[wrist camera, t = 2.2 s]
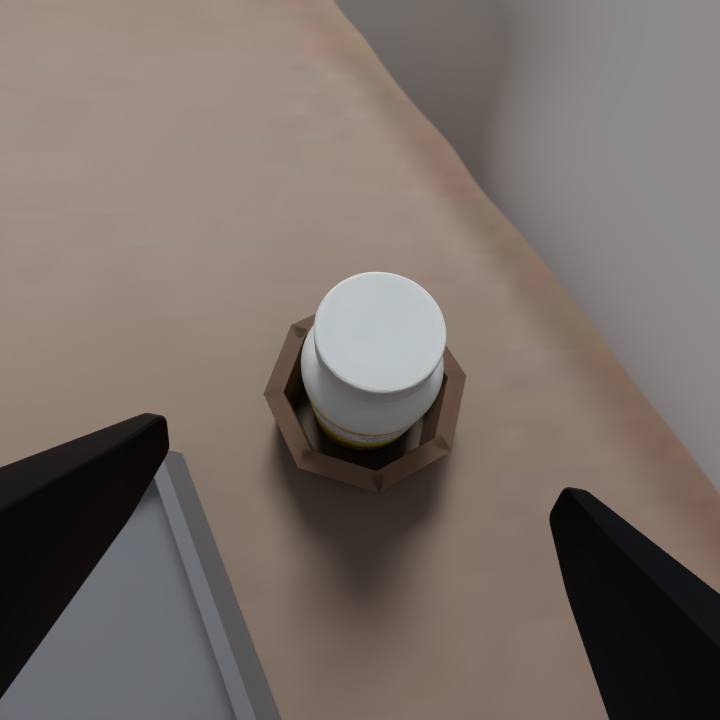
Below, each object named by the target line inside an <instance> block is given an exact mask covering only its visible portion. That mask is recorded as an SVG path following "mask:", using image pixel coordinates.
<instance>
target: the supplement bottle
mask: <svg viewBox="0 0 720 720" xmlns="http://www.w3.org/2000/svg"><path fill="white" fill-rule="evenodd" d="M445 345H446V326H445V322H444V318H443V316H442V313H441V311H440V309H439V307H438V305H437V303H436V302H435V301H434V299H433V298H432V297H431V296H430V294H429V293H427V292H426V290H424V289H423V288H422V287H421V286H419V285H418V284H416V283H415V282H413V281H411V280H409V279H407V278H405V277H402V276H399V275H396V274H392V273H385V272H367V273H362V274H358V275H355V276H352V277H350V278H347V279H345V280H343V281H342V282H340V283H339V284H338V285H336V286H335V287H334V288H332V289H331V290H330V291H329V292H328V294H327V295H326V296H325V298H324V299H323V300H322V302H321V304H320V306H319V308H318V310H317V313H316V315H315V321H314V325H313V326H312V328H311V329H310V331H309V333H308V335H307V337H306V339H305V342H304V345H303V349H302V355H301V372H302V379H303V382H304V387H305V389H306V392H307V395H308V397H309V400H310V402H311V405H312V408H313V410H314V413H315V415H316V418H317V421H318V423H319V425H320V427H321V428H322V430H323V431H324V433H325V434H326V435H327V436H328V437H329V438H330V439H331V440H332V441H333V442H335V443H336V444H338V445H340V446H342V447H344V448H347V449H350V450H354V451H361V452H367V451H374V450H378V449H381V448H384V447H386V446H388V445H389V444H391V443H392V442H394V441H395V440H397V439H398V438H399V437H400V436H401V435H402V434H403V433H404V432H405V431H406V430H408V429H409V428H410V427H411V426H412V425H413V424H414V423H415V422H417V421H418V420H419V419H420V418H421V417H422V416H423V415H424V414H425V413H426V412H427V410H428V409H429V408H430V407H431V405H432V404H433V402H434V401H435V399H436V397H437V395H438V393H439V390H440V387H441V384H442V380H443V372H444V361H443V353H444V350H445Z"/></svg>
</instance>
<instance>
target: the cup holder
mask: <svg viewBox="0 0 720 720" xmlns="http://www.w3.org/2000/svg"><path fill="white" fill-rule="evenodd" d="M315 315H316V314H314V315H312V316H310V317H308V318H306V319H303V320H301V321H299V322H297V323H295V324H292V325H291V327H290V330H289V332H288V335H287V337H286V340H285V342H284V345H283V347H282V350H281V352H280V355H279V357H278V360H277V362H276V365H275V367H274V370H273V372H272V375H271V377H270V379H269V382H268V384H267V387H266V389H265V392H264V396H265V398H266V400H267V402H268V404H269V407H270V409H271V411H272V413H273V415H274V417H275V419H276V422H277V424H278V426H279V428H280V430H281V432H282V434H283V437H284V439H285V441H286V443H287V445H288V447H289V449H290V452H291V454H292V456H293V458H294V460H295V462H296V464H297V467H298V468H300V469H303V470H305V471H309V472H312V473H315V474H318V475H321V476H325V477H328V478H331V479H334V480H337V481H341V482H344V483H347V484H350V485H353V486H356V487H360V488H363V489H366V490H369V491H372V492H375V493H381V492H382V491H384V490H386V489H387V488H389V487H391V486H393V485H394V484H396V483H398V482H399V481H401V480H403V479H404V478H406V477H408V476H409V475H411V474H413V473H415V472H416V471H418V470H420V469H421V468H423V467H425V466H426V465H428V464H430V463H432V462H433V461H435V460H437V459H438V458H440V457H442V456H443V455H445V454H447V453H449V452H451V448H452V443H453V439H454V434H455V429H456V424H457V419H458V414H459V409H460V404H461V399H462V394H463V389H464V384H465V379H466V375H465V373H464V372H463V370H462V369H461V367H460V366H459V364H458V363H457V361H456V360H455V358H454V357H453V355H452V354H451V352H450V351H449V349H448V348H447V346H446V345H445V350H444V353H443V361H444V372H443V380H442V384H441V387H440V390H439V393H438V395H437V397H436V399H435V401H434V402H433V404H432V405H431V407H430V408H429V409H428V410H427V413H426V417H425V421H424V426H423V430H422V434H421V438H420V443H419V447H417V448H415V449H413V450H412V451H410V452H408V453H406V454H405V455H403V456H401V457H399V458H398V459H396V460H394V461H393V462H391V463H389V464H387V465H386V466H384V467H382V468H380V469H379V470H377V471H375V470H371V469H368V468H365V467H362V466H359V465H355V464H352V463H349V462H346V461H343V460H339V459H336V458H333V457H330V456H327V455H323V454H320V453H317V452H315V451H314V449H313V447H312V445H311V443H310V441H309V439H308V437H307V435H306V433H305V431H304V429H303V427H302V425H301V422H300V420H299V418H298V416H297V414H296V412H295V410H294V406H295V403H296V400H297V398H298V395H299V392H300V390H301V387H302V384H303V379H302V372H301V355H302V349H303V345H304V342H305V339H306V337H307V335H308V333H309V331H310V329H311V328H312V326H313V325H314V321H315Z"/></svg>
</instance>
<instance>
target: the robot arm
mask: <svg viewBox="0 0 720 720" xmlns="http://www.w3.org/2000/svg"><path fill="white" fill-rule="evenodd" d="M168 450H169V437H168V428H167V421H166V418H165V417H164V416H162V415H156V414H151V413H144V414H141V415H138V416H136V417H133V418H130V419H128V420H125V421H122V422H120V423H117V424H114V425H112V426H109V427H107V428H104V429H101V430H99V431H96V432H93V433H91V434H88V435H85V436H83V437H80V438H77V439H75V440H72V441H69V442H67V443H64V444H61V445H59V446H56V447H53V448H51V449H48V450H46V451H43V452H40V453H38V454H35V455H32V456H30V457H27V458H24V459H22V460H19V461H16V462H14V463H11V464H8V465H6V466H3V467H0V699H1V698H2V697H3V695H4V694H5V692H6V691H7V690H8V688H9V687H10V685H11V684H12V683H13V681H14V680H15V678H16V677H17V676H18V674H19V673H20V671H21V670H22V669H23V667H24V666H25V664H26V663H27V662H28V660H29V659H30V657H31V656H32V655H33V653H34V652H35V651H36V649H37V648H38V646H39V645H40V644H41V642H42V641H43V639H44V638H45V637H46V635H47V634H48V632H49V631H50V630H51V628H52V627H53V625H54V624H55V623H56V621H57V620H58V618H59V617H60V616H61V614H62V613H63V611H64V610H65V609H66V607H67V606H68V604H69V603H70V602H71V600H72V599H73V597H74V596H75V595H76V593H77V592H78V590H79V589H80V588H81V586H82V585H83V583H84V582H85V581H86V579H87V578H88V576H89V575H90V574H91V572H92V571H93V569H94V568H95V567H96V565H97V564H98V562H99V561H100V560H101V558H102V557H103V556H104V554H105V553H106V551H107V550H108V549H109V547H110V546H111V544H112V543H113V542H114V540H115V539H116V537H117V536H118V535H119V533H120V532H121V530H122V529H123V528H124V526H125V525H126V523H127V522H128V520H129V519H130V517H131V516H132V514H133V512H134V511H135V509H136V508H137V506H138V504H139V502H140V501H141V499H142V497H143V496H144V494H145V492H146V490H147V489H148V487H149V485H150V483H151V482H152V480H153V478H154V476H155V475H156V473H157V471H158V469H159V468H160V466H161V464H162V463H163V461H164V459H165V457H166V455H167V453H168ZM549 520H550V527H551V531H552V535H553V539H554V544H555V548H556V552H557V556H558V560H559V565H560V569H561V573H562V577H563V581H564V585H565V589H566V593H567V596H568V599H569V603H570V606H571V609H572V612H573V615H574V618H575V621H576V624H577V627H578V629H579V632H580V635H581V638H582V641H583V644H584V647H585V650H586V653H587V656H588V659H589V662H590V665H591V668H592V671H593V674H594V676H595V679H596V682H597V685H598V688H599V691H600V694H601V697H602V700H603V703H604V706H605V709H606V712H607V715H608V718H609V720H720V594H719V593H718V592H716V591H715V590H714V589H712V588H711V587H710V586H709V585H707V584H706V583H705V582H703V581H702V580H701V579H700V578H698V577H697V576H696V575H694V574H693V573H692V572H691V571H689V570H688V569H687V568H686V567H684V566H683V565H682V564H680V563H679V562H678V561H677V560H675V559H674V558H673V557H671V556H670V555H669V554H668V553H666V552H665V551H664V550H662V549H661V548H660V547H659V546H657V545H656V544H655V543H653V542H652V541H651V540H650V539H648V538H647V537H646V536H644V535H643V534H642V533H641V532H639V531H638V530H637V529H635V528H634V527H633V526H632V525H630V524H629V523H628V522H627V521H625V520H624V519H623V518H621V517H620V516H619V515H618V514H616V513H615V512H614V511H612V510H611V509H610V508H609V507H607V506H606V505H605V504H603V503H602V502H601V501H600V500H598V499H597V498H596V497H594V496H593V495H592V494H591V493H589V492H588V491H586V490H583V489H577V488H572V487H567V488H565V489H563V490H562V492H561V494H560V496H559V498H558V499H557V501H556V503H555V505H554V507H553V509H552V510H551V513H550V519H549Z"/></svg>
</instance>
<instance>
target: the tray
mask: <svg viewBox="0 0 720 720" xmlns="http://www.w3.org/2000/svg"><path fill="white" fill-rule="evenodd" d="M0 720H281V718H280V715H279V713H278V710H277V707H276V704H275V702H274V699H273V696H272V694H271V691H270V688H269V686H268V683H267V680H266V678H265V675H264V672H263V670H262V667H261V664H260V662H259V659H258V656H257V653H256V651H255V648H254V645H253V643H252V640H251V637H250V635H249V632H248V629H247V627H246V624H245V621H244V619H243V616H242V613H241V611H240V608H239V605H238V602H237V600H236V597H235V594H234V592H233V589H232V586H231V584H230V581H229V578H228V576H227V573H226V570H225V568H224V565H223V562H222V560H221V557H220V554H219V551H218V549H217V546H216V543H215V541H214V538H213V535H212V533H211V530H210V527H209V525H208V522H207V519H206V517H205V514H204V511H203V509H202V506H201V503H200V500H199V498H198V495H197V492H196V490H195V487H194V484H193V482H192V479H191V476H190V474H189V471H188V468H187V466H186V463H185V460H184V458H183V455H182V453H178V452H173V451H168V453H167V455H166V457H165V459H164V461H163V463H162V464H161V466H160V468H159V469H158V471H157V473H156V475H155V476H154V478H153V480H152V482H151V483H150V485H149V487H148V489H147V490H146V492H145V494H144V496H143V497H142V499H141V501H140V502H139V504H138V506H137V508H136V509H135V511H134V512H133V514H132V516H131V517H130V519H129V520H128V522H127V523H126V525H125V526H124V528H123V529H122V530H121V532H120V533H119V535H118V536H117V537H116V539H115V540H114V542H113V543H112V544H111V546H110V547H109V549H108V550H107V551H106V553H105V554H104V556H103V557H102V558H101V560H100V561H99V562H98V564H97V565H96V567H95V568H94V569H93V571H92V572H91V574H90V575H89V576H88V578H87V579H86V581H85V582H84V583H83V585H82V586H81V588H80V589H79V590H78V592H77V593H76V595H75V596H74V597H73V599H72V600H71V602H70V603H69V604H68V606H67V607H66V609H65V610H64V611H63V613H62V614H61V616H60V617H59V618H58V620H57V621H56V623H55V624H54V625H53V627H52V628H51V630H50V631H49V632H48V634H47V635H46V637H45V638H44V639H43V641H42V642H41V644H40V645H39V646H38V648H37V649H36V651H35V652H34V653H33V655H32V656H31V657H30V659H29V660H28V662H27V663H26V664H25V666H24V667H23V669H22V670H21V671H20V673H19V674H18V676H17V677H16V678H15V680H14V681H13V683H12V684H11V685H10V687H9V688H8V690H7V691H6V692H5V694H4V695H3V697H2V698H1V699H0Z"/></svg>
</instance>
